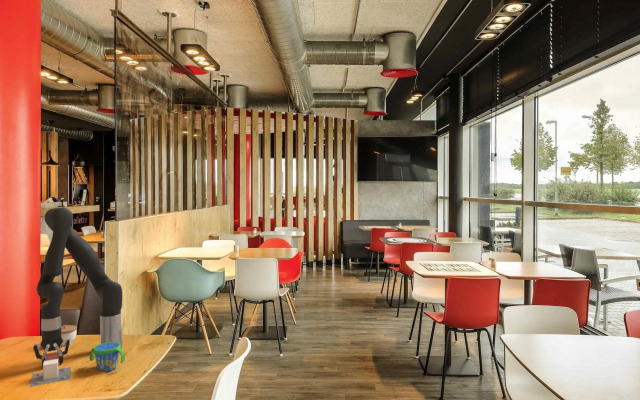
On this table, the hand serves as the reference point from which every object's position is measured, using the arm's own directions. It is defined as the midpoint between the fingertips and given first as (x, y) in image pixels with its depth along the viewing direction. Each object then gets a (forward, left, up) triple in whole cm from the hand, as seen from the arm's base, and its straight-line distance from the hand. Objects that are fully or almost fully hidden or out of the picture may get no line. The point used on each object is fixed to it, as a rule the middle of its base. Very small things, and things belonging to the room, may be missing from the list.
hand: (52, 365), depth 196 cm
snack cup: (-21, +14, -1) cm, 25 cm away
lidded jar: (-4, -32, -1) cm, 32 cm away
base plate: (0, +13, -1) cm, 13 cm away
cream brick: (0, +13, 0) cm, 13 cm away
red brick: (0, 0, -1) cm, 1 cm away
